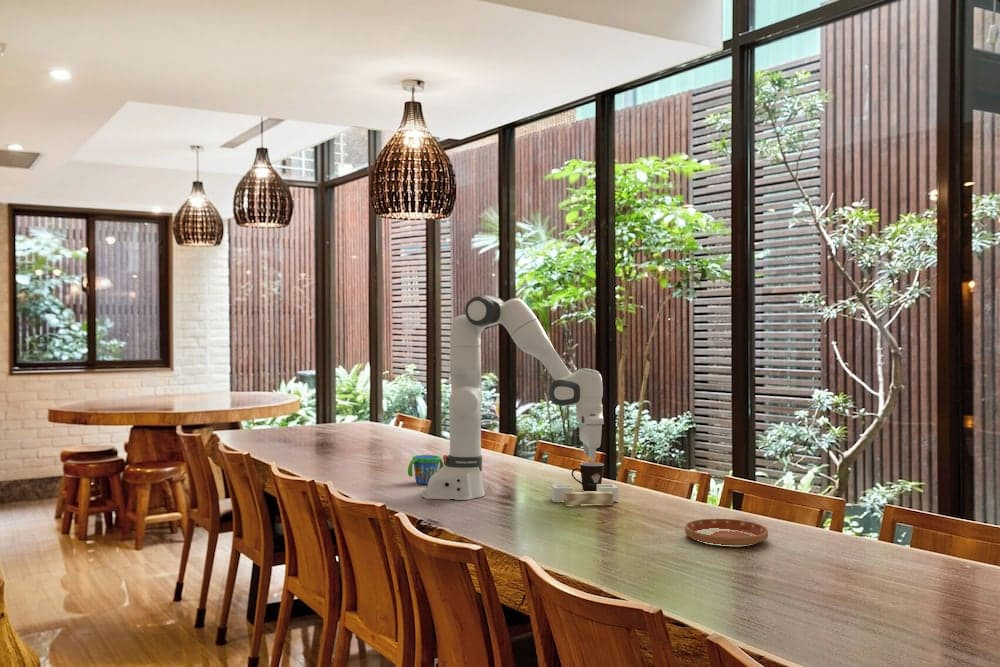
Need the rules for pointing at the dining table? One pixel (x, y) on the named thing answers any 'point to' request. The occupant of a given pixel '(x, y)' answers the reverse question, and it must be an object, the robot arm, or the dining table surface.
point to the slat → (588, 498)
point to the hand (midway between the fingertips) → (589, 457)
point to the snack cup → (424, 467)
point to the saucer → (726, 536)
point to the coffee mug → (590, 475)
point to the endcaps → (561, 488)
